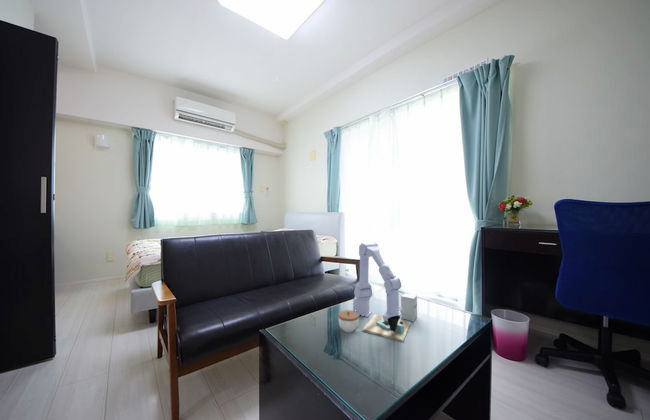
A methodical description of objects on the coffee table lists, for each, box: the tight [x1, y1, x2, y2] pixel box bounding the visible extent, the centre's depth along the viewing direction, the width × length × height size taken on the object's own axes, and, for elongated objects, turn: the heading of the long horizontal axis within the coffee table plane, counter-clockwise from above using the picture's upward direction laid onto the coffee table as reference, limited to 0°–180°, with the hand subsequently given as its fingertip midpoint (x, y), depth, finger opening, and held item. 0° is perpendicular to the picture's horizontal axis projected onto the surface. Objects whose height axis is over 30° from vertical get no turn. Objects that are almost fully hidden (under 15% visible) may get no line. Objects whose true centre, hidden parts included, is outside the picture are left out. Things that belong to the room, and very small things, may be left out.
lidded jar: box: [337, 309, 360, 333], centre depth 116 cm, size 11×11×9 cm
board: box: [362, 314, 412, 342], centre depth 118 cm, size 20×20×4 cm
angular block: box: [376, 320, 404, 333], centre depth 115 cm, size 14×8×3 cm, turn 34°
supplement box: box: [400, 292, 418, 322], centre depth 129 cm, size 7×7×13 cm
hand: (393, 330), depth 110 cm, fingers closed
